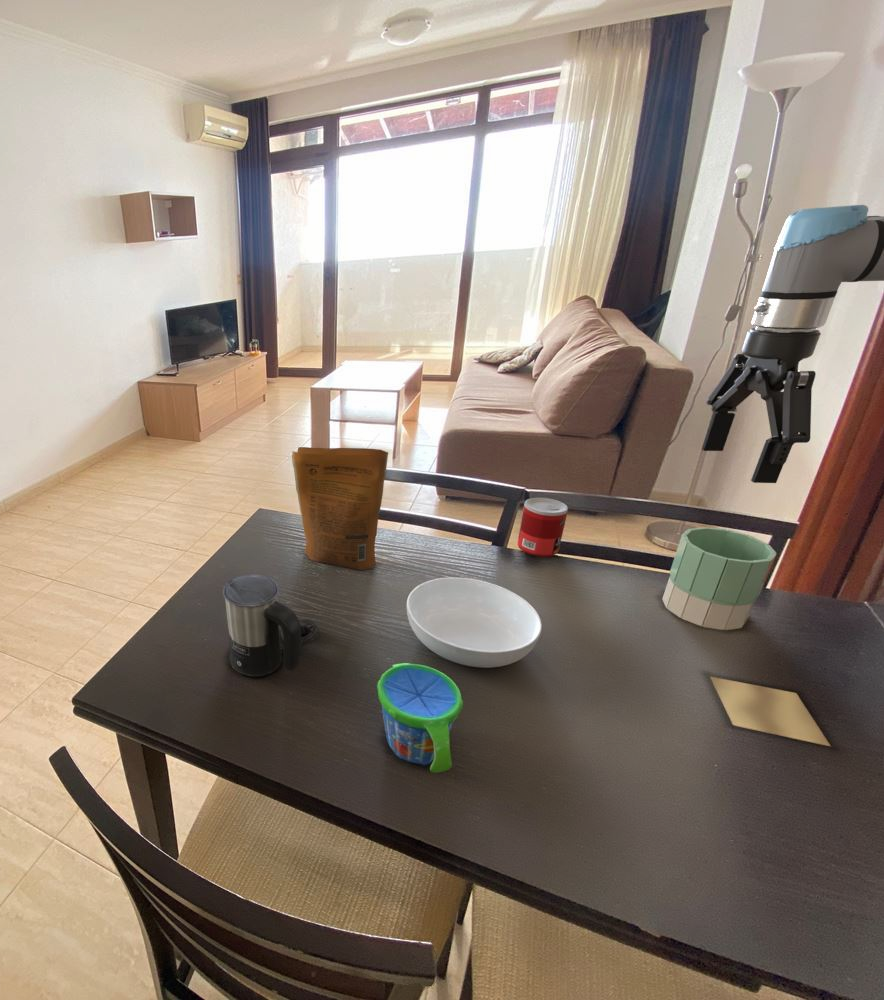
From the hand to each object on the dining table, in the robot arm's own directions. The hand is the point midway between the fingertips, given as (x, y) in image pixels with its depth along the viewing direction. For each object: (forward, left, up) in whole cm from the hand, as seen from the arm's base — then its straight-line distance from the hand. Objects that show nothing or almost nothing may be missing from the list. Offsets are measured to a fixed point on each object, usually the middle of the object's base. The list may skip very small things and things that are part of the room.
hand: (735, 465), depth 86 cm
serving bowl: (+36, +23, -28) cm, 51 cm away
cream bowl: (-2, +1, -28) cm, 28 cm away
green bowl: (-2, +1, -25) cm, 25 cm away
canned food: (+23, -14, -28) cm, 39 cm away
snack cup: (+42, +48, -28) cm, 69 cm away
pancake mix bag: (+63, +4, -28) cm, 69 cm away
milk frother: (+67, +36, -28) cm, 81 cm away
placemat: (-3, +25, -28) cm, 37 cm away
